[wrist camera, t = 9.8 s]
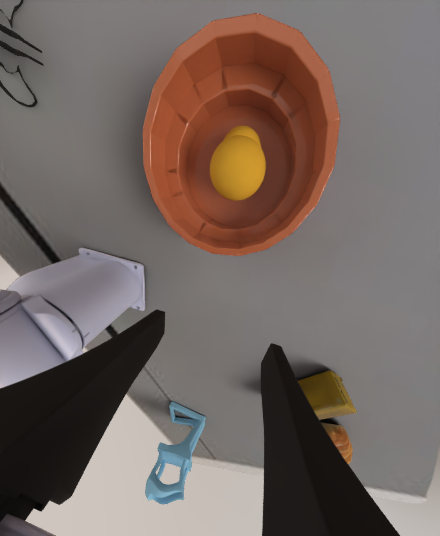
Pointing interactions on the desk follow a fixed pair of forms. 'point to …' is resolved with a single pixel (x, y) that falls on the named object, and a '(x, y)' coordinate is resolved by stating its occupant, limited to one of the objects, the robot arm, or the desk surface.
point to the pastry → (340, 440)
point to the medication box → (327, 395)
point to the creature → (16, 52)
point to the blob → (238, 164)
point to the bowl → (240, 114)
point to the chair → (175, 458)
